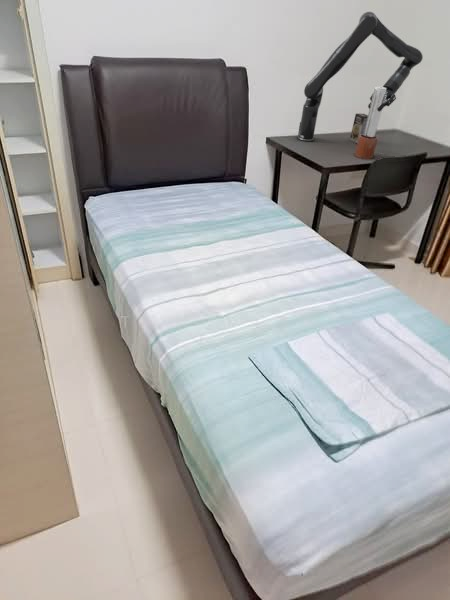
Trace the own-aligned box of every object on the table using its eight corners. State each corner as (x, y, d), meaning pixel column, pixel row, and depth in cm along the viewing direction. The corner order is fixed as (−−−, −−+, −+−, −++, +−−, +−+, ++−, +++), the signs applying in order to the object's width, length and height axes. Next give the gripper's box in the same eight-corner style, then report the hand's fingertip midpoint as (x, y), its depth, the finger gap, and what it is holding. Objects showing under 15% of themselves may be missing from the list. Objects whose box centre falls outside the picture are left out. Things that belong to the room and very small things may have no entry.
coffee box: (349, 140, 278) (355, 113, 269) (357, 139, 280) (363, 113, 271) (357, 144, 271) (363, 116, 262) (365, 143, 273) (372, 116, 264)
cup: (351, 154, 252) (356, 134, 245) (364, 152, 256) (369, 133, 249) (362, 159, 245) (367, 139, 238) (376, 158, 249) (381, 138, 242)
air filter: (377, 137, 242) (390, 88, 228) (367, 137, 240) (380, 88, 226) (370, 134, 247) (382, 86, 233) (360, 134, 245) (372, 86, 231)
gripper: (380, 76, 235) (361, 101, 236) (403, 81, 226) (382, 107, 227) (384, 86, 241) (365, 111, 242) (406, 91, 232) (386, 117, 233)
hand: (373, 109), depth 235 cm, fingers closed on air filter, 5 cm apart
